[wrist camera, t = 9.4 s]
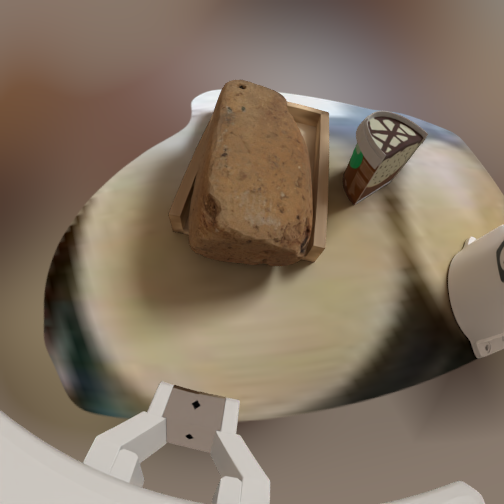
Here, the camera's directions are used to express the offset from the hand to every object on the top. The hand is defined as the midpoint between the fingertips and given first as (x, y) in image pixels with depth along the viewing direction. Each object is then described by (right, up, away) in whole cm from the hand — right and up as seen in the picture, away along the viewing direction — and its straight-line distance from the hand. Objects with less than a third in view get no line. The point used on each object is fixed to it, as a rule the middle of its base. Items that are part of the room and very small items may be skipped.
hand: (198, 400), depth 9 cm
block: (+2, +5, +15) cm, 16 cm away
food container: (+17, +16, +27) cm, 35 cm away
